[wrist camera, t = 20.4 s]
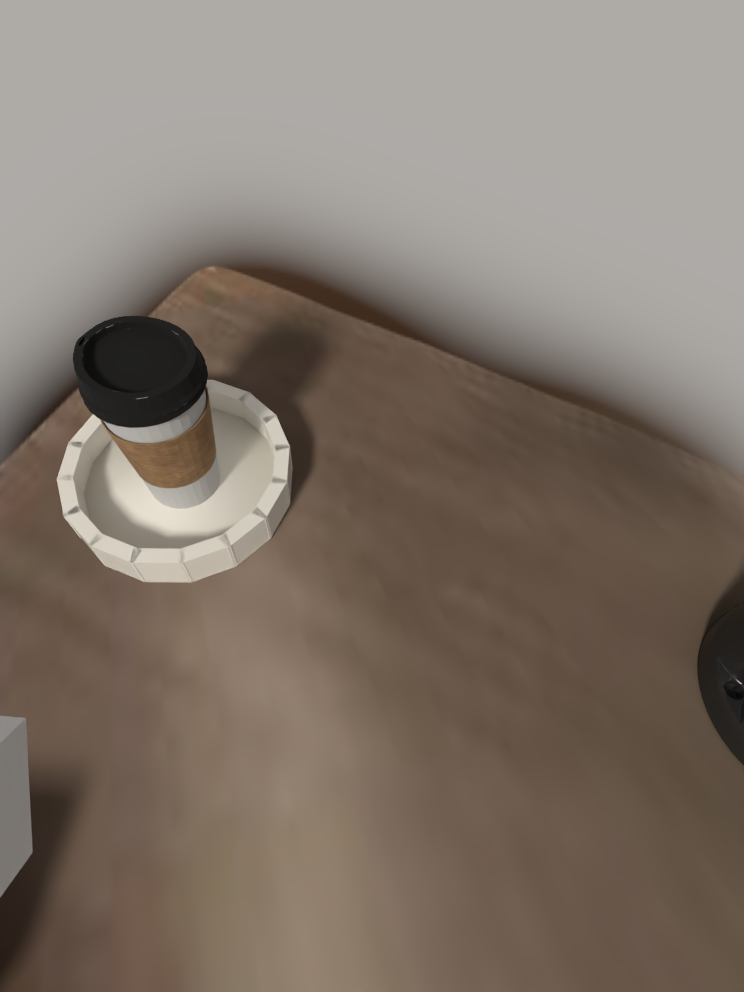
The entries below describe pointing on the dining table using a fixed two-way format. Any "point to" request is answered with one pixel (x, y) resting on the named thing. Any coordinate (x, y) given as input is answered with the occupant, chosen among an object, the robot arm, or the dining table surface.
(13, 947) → the dining table surface
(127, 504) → the serving bowl
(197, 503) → the coffee cup
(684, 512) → the dining table surface
